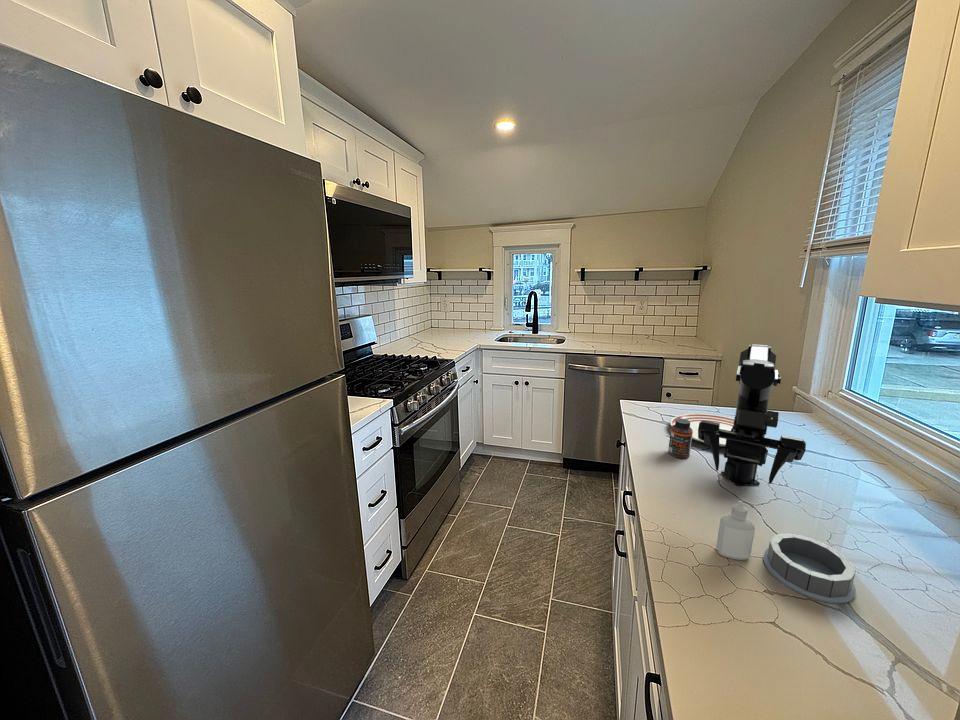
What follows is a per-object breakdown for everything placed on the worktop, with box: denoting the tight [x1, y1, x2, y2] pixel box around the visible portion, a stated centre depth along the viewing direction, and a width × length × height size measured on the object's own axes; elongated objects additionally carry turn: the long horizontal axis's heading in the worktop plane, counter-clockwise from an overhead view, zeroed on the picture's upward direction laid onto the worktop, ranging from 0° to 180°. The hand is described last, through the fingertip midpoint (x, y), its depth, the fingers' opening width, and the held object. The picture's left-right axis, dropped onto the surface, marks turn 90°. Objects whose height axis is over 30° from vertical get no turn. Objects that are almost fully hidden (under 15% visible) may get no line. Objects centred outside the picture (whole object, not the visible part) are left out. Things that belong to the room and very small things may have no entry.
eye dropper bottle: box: [715, 500, 756, 561], centre depth 73 cm, size 4×6×12 cm
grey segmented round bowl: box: [763, 533, 857, 605], centre depth 69 cm, size 13×13×4 cm
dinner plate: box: [669, 413, 735, 448], centre depth 128 cm, size 28×27×3 cm
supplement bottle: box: [667, 418, 693, 459], centre depth 114 cm, size 6×6×11 cm
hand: (742, 476), depth 78 cm, fingers open, 9 cm apart
